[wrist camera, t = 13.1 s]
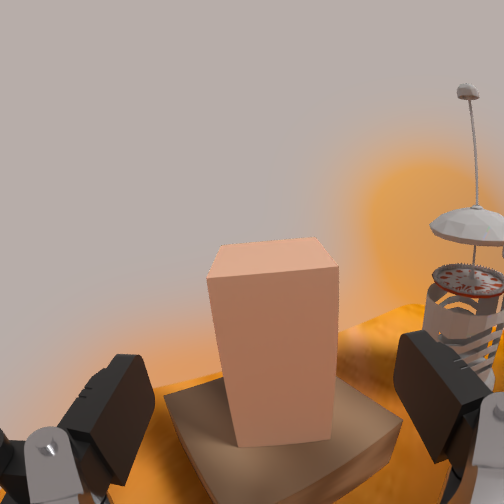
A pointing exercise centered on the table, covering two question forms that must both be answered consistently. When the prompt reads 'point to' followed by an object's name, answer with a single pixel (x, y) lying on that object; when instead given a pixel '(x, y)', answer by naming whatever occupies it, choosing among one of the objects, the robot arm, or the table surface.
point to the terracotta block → (277, 338)
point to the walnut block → (282, 449)
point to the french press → (468, 281)
